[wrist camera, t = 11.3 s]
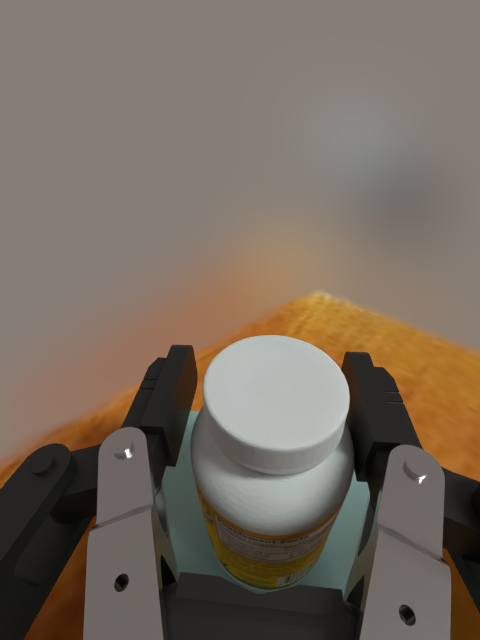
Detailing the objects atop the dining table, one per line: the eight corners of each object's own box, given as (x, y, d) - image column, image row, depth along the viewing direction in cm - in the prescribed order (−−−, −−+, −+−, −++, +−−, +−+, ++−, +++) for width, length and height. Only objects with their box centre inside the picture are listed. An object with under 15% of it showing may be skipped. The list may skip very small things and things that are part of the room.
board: (91, 677, 11) (83, 676, 11) (172, 417, 20) (170, 409, 19) (440, 728, 10) (449, 728, 9) (363, 428, 19) (366, 421, 18)
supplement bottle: (317, 617, 12) (388, 521, 6) (187, 567, 13) (134, 447, 7) (327, 477, 16) (374, 336, 10) (227, 450, 17) (216, 310, 11)
